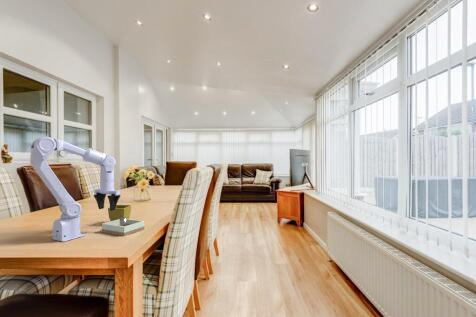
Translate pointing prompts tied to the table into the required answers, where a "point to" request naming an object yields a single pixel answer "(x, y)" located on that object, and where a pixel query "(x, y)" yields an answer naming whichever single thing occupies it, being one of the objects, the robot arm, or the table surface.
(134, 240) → the table surface
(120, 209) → the flower pot
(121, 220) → the peg
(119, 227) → the box
